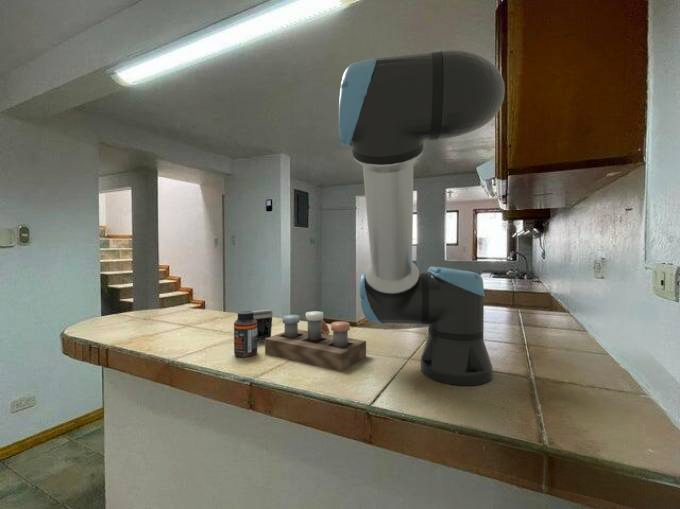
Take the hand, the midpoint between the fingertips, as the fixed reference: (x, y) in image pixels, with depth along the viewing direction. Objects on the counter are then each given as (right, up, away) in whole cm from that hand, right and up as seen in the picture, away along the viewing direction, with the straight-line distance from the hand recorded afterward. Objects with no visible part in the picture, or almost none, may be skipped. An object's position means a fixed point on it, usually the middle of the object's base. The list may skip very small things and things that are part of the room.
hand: (397, 242), depth 96 cm
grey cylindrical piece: (-30, -27, -6) cm, 41 cm away
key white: (-23, -25, -10) cm, 36 cm away
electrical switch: (-42, -30, +4) cm, 51 cm away
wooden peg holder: (-23, -30, -10) cm, 39 cm away
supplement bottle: (-42, -30, -9) cm, 52 cm away
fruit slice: (-23, -30, +6) cm, 38 cm away
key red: (-17, -27, -15) cm, 35 cm away
